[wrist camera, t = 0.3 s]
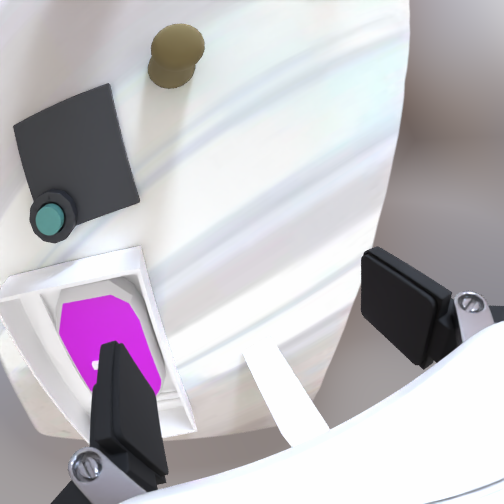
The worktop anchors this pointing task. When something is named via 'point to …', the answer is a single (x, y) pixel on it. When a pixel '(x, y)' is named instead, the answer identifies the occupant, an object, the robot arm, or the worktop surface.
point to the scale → (76, 160)
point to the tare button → (49, 219)
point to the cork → (175, 55)
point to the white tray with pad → (93, 333)
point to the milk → (284, 393)
